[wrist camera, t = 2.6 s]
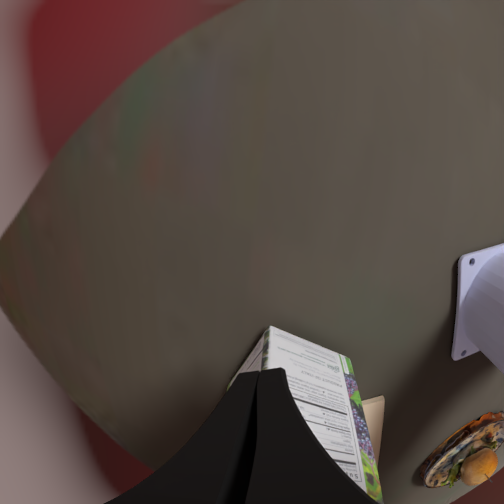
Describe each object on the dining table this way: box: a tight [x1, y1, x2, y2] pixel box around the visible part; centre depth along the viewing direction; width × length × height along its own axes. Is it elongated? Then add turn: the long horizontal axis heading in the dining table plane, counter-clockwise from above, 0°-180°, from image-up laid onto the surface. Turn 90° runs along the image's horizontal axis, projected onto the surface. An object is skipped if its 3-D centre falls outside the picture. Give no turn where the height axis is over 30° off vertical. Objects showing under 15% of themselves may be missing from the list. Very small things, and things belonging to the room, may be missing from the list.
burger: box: [420, 411, 504, 488], centre depth 16 cm, size 12×12×8 cm
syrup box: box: [227, 326, 384, 504], centre depth 10 cm, size 6×6×14 cm
